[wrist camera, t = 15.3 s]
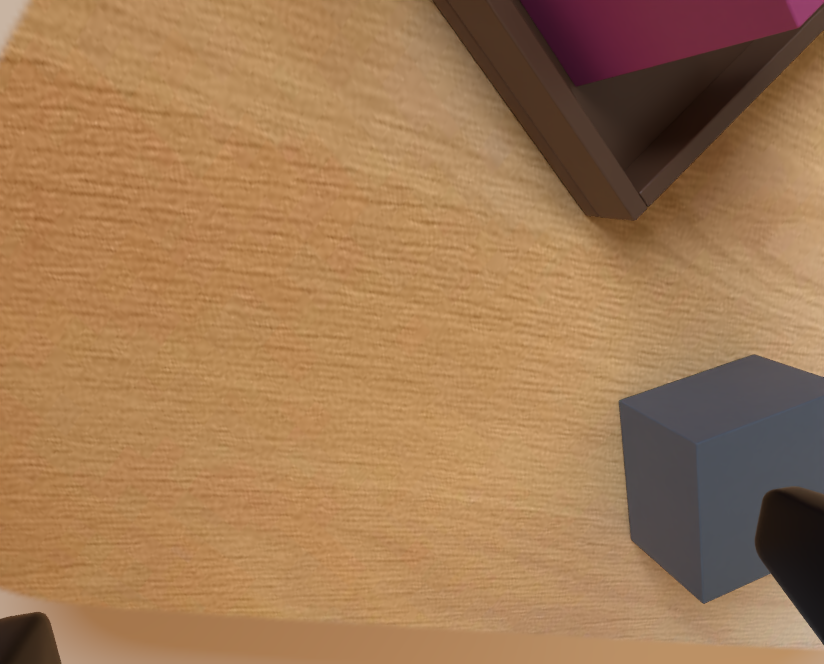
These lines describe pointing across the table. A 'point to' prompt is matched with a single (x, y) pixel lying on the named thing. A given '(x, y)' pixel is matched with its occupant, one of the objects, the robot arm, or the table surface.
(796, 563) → the robot arm
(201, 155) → the table surface
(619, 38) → the mulberry block
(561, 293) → the table surface
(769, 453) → the slate block
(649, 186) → the tray
